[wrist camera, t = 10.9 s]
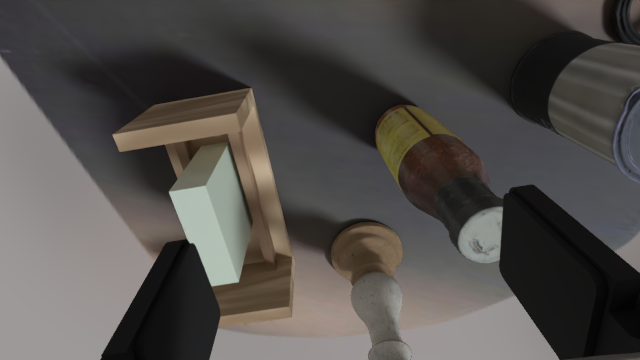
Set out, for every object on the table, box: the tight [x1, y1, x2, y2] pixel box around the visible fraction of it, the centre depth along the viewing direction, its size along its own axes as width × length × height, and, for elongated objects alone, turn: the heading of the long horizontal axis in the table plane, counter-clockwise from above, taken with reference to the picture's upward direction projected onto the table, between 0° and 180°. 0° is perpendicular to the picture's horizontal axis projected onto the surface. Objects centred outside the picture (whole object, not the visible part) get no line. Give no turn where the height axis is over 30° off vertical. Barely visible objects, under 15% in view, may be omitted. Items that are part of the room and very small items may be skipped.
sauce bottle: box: [375, 105, 503, 263], centre depth 31 cm, size 6×6×20 cm
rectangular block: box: [169, 142, 253, 286], centre depth 36 cm, size 10×4×10 cm, turn 10°
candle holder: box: [331, 222, 412, 360], centre depth 37 cm, size 9×9×20 cm
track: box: [113, 88, 295, 328], centre depth 38 cm, size 22×10×9 cm, turn 9°
